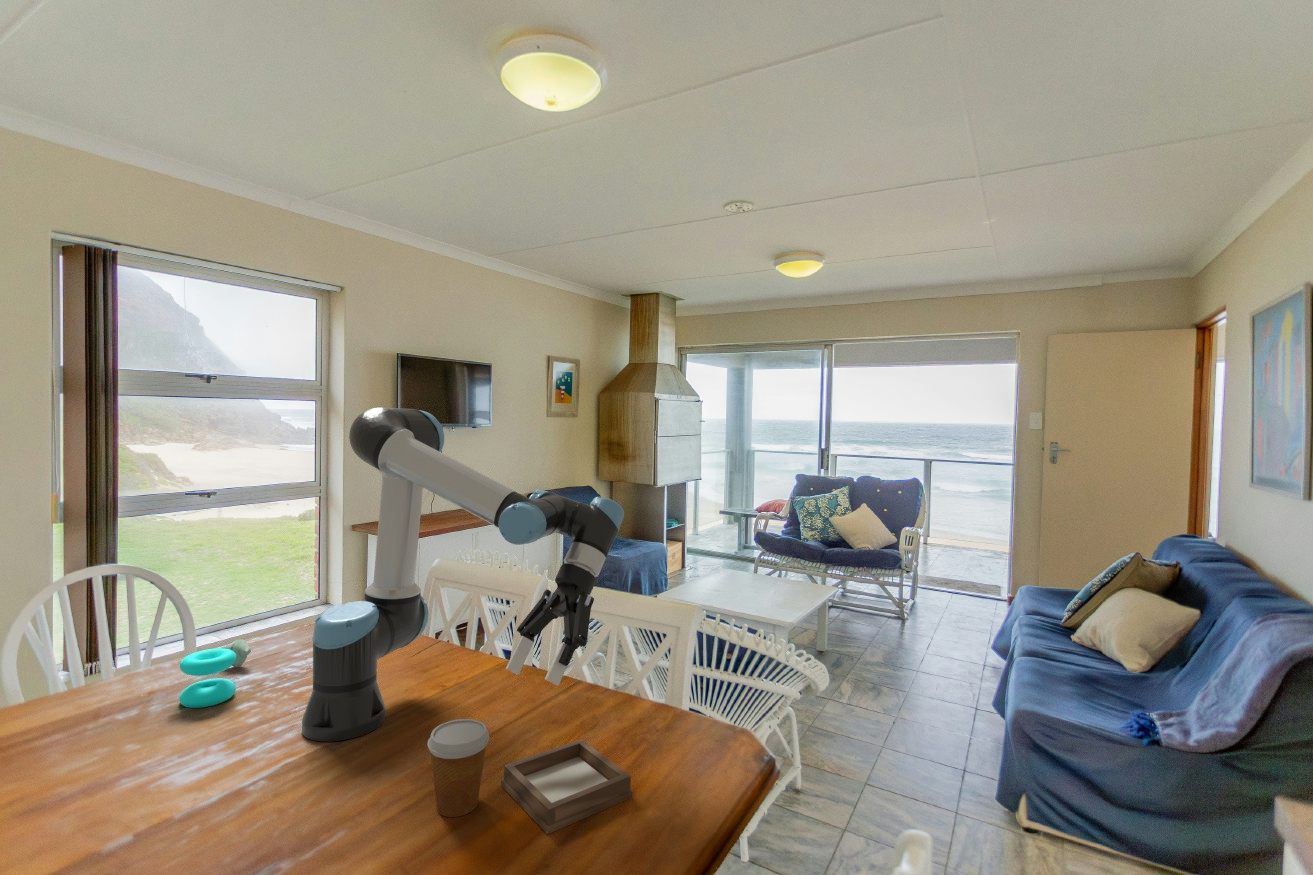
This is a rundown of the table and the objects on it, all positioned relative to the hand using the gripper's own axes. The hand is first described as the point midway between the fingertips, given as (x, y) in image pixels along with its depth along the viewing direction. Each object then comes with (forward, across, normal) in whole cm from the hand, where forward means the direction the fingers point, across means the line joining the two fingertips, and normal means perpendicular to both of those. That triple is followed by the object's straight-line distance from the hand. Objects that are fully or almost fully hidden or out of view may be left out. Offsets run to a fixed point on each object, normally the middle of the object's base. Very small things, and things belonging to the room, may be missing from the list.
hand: (530, 677), depth 112 cm
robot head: (+20, +87, +24) cm, 92 cm away
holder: (+14, -8, -11) cm, 20 cm away
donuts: (+27, +70, +29) cm, 80 cm away
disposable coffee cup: (+22, 0, +2) cm, 22 cm away
